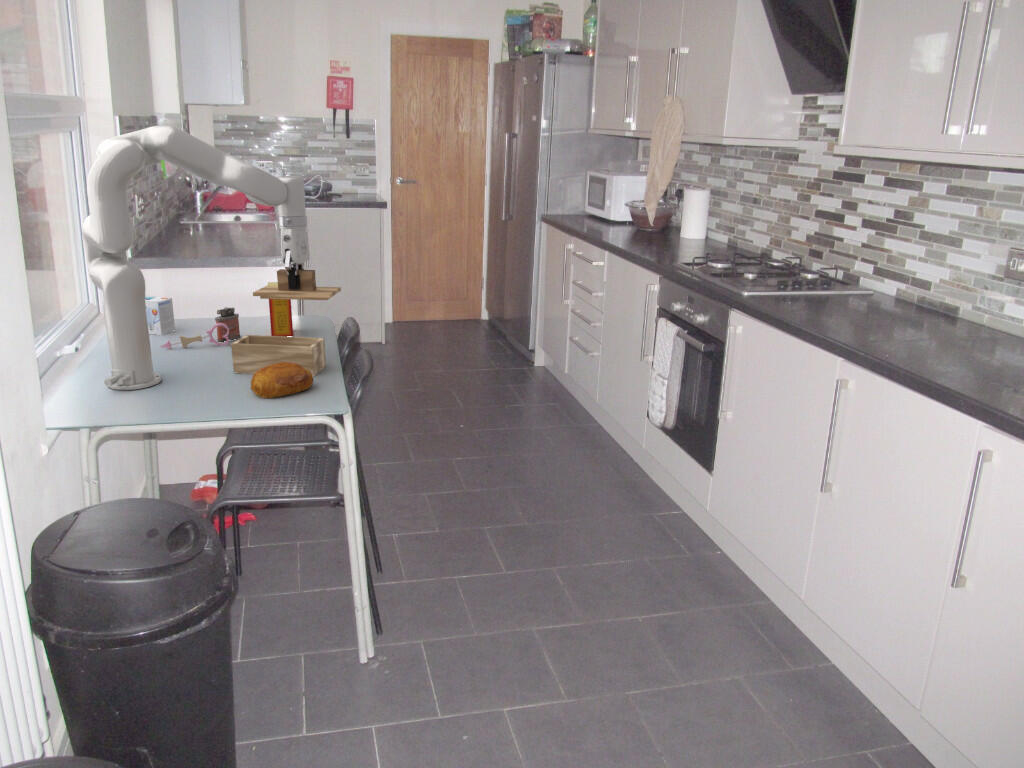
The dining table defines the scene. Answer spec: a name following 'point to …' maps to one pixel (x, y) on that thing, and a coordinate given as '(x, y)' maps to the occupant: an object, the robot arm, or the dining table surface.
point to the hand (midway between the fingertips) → (296, 287)
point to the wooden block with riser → (304, 293)
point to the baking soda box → (280, 315)
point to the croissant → (281, 380)
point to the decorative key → (199, 338)
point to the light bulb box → (159, 315)
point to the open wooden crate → (277, 352)
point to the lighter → (230, 321)
